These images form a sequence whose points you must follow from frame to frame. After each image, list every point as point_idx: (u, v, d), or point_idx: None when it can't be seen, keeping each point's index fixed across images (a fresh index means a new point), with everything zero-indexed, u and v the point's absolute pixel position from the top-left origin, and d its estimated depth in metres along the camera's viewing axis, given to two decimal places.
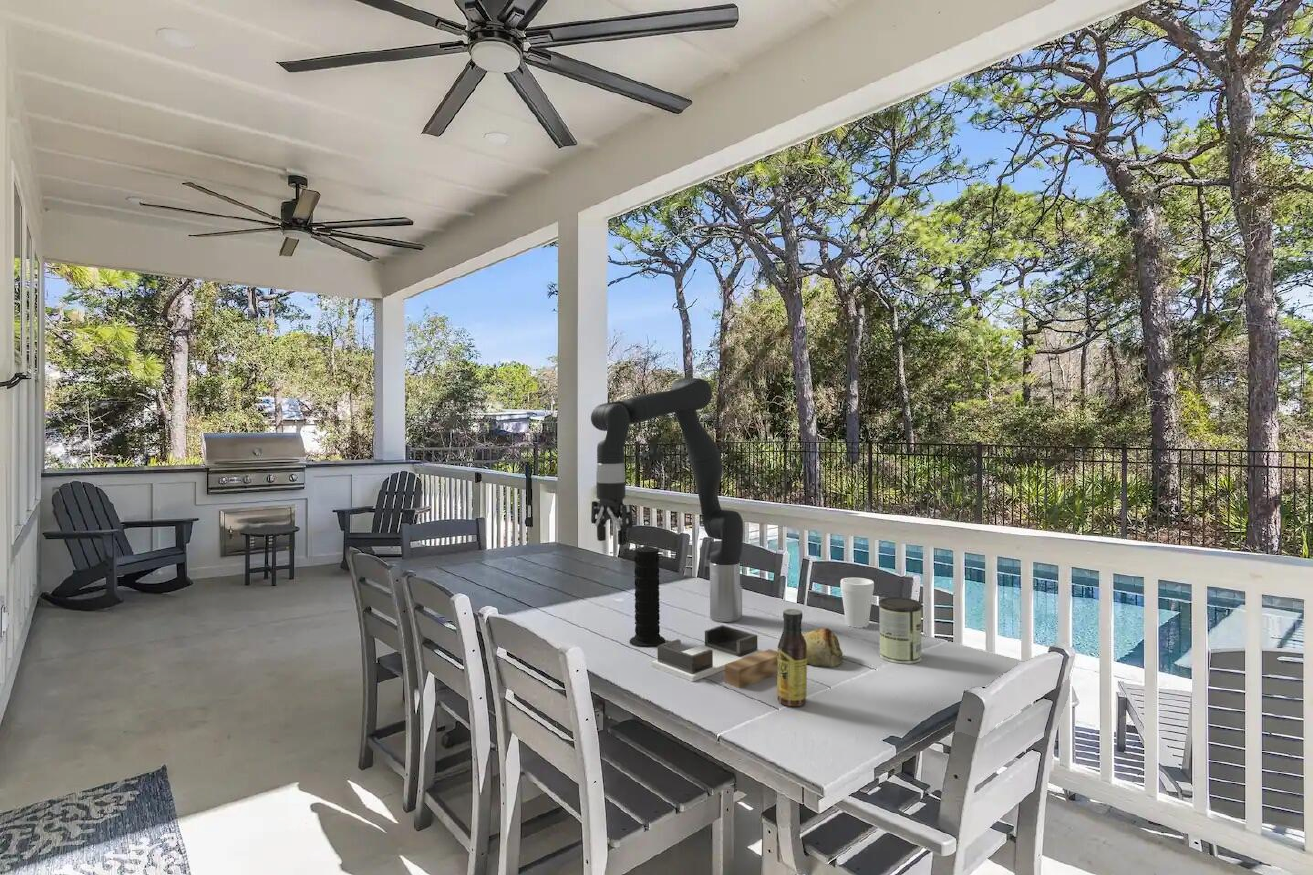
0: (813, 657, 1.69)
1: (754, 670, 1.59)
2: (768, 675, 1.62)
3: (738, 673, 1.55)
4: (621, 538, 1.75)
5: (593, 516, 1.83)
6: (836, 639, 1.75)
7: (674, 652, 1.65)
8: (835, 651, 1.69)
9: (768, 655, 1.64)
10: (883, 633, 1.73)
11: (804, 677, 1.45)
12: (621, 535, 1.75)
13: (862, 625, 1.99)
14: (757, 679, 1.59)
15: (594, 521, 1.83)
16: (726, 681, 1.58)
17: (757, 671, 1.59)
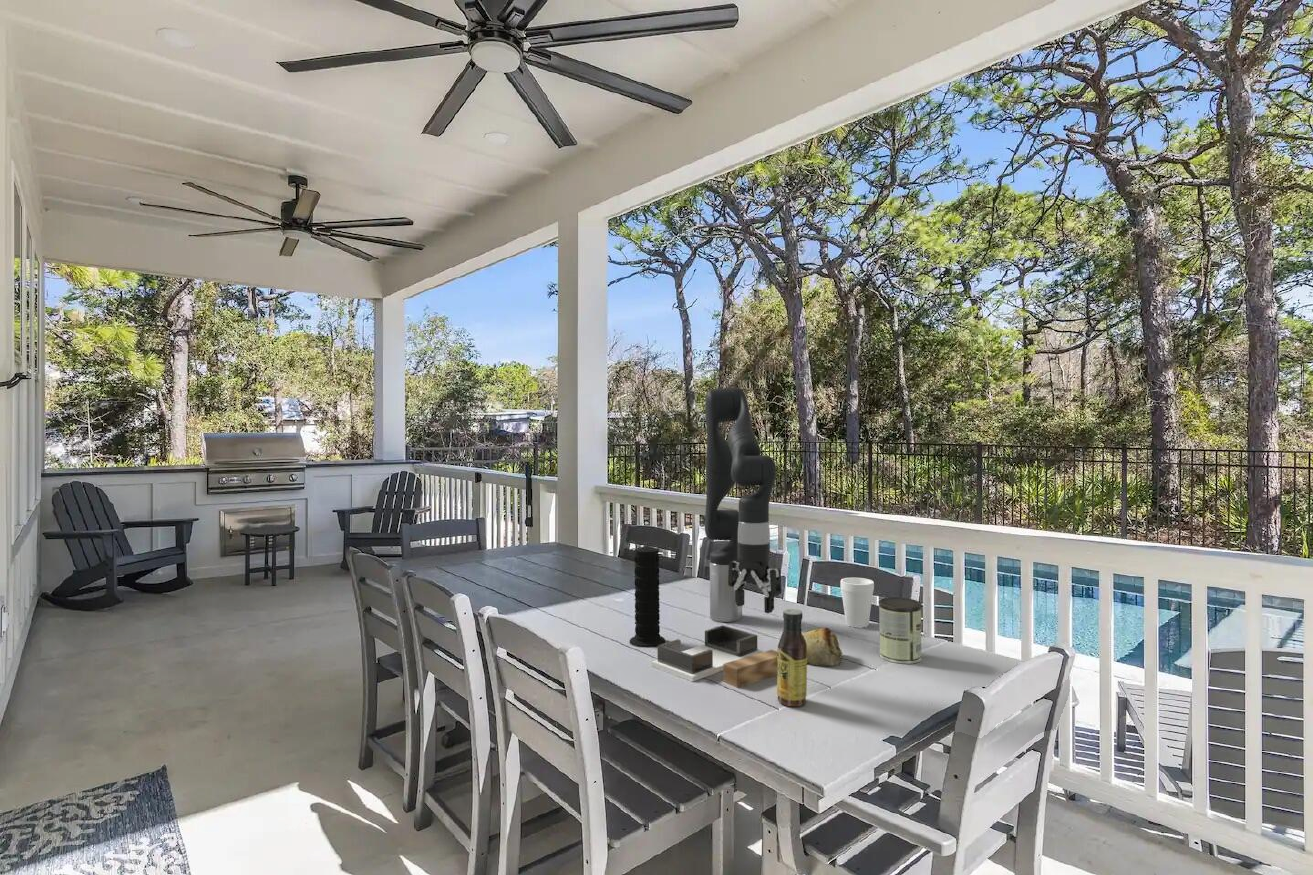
0: (813, 657, 1.69)
1: (753, 669, 1.59)
2: (768, 675, 1.62)
3: (736, 672, 1.56)
4: (768, 606, 1.58)
5: (731, 578, 1.65)
6: (835, 638, 1.75)
7: (674, 652, 1.65)
8: (834, 650, 1.70)
9: (768, 655, 1.64)
10: (883, 633, 1.73)
11: (804, 677, 1.45)
12: (768, 602, 1.58)
13: (862, 625, 1.99)
14: (756, 679, 1.59)
15: (732, 584, 1.65)
16: (725, 680, 1.59)
17: (756, 671, 1.59)
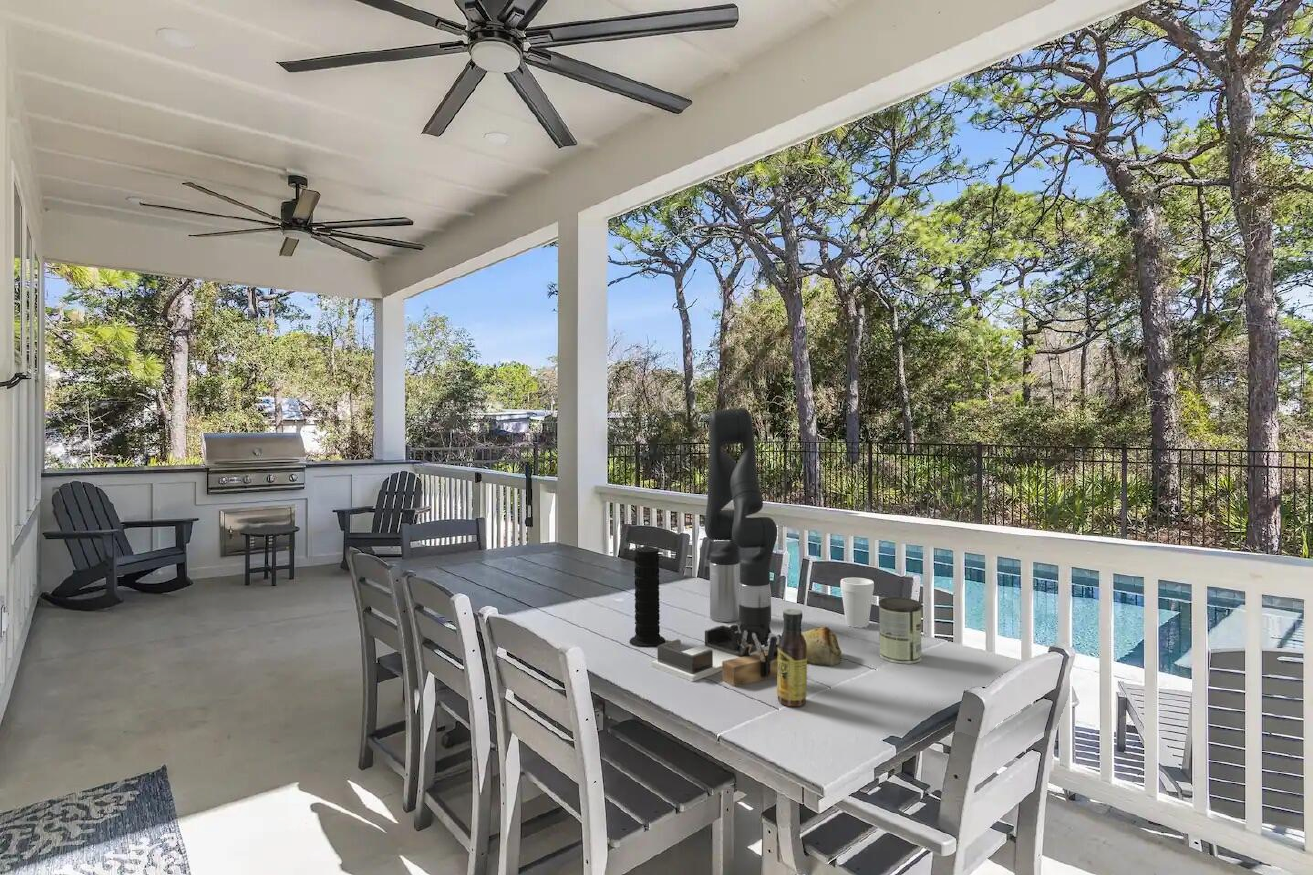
0: (813, 656, 1.70)
1: (752, 668, 1.59)
2: None
3: (733, 670, 1.56)
4: (765, 670, 1.59)
5: (735, 642, 1.65)
6: (835, 638, 1.76)
7: (674, 652, 1.65)
8: (834, 650, 1.70)
9: None
10: (883, 633, 1.73)
11: (804, 677, 1.45)
12: (765, 667, 1.59)
13: (862, 625, 1.99)
14: (755, 678, 1.59)
15: (738, 648, 1.65)
16: (723, 678, 1.60)
17: (755, 670, 1.59)
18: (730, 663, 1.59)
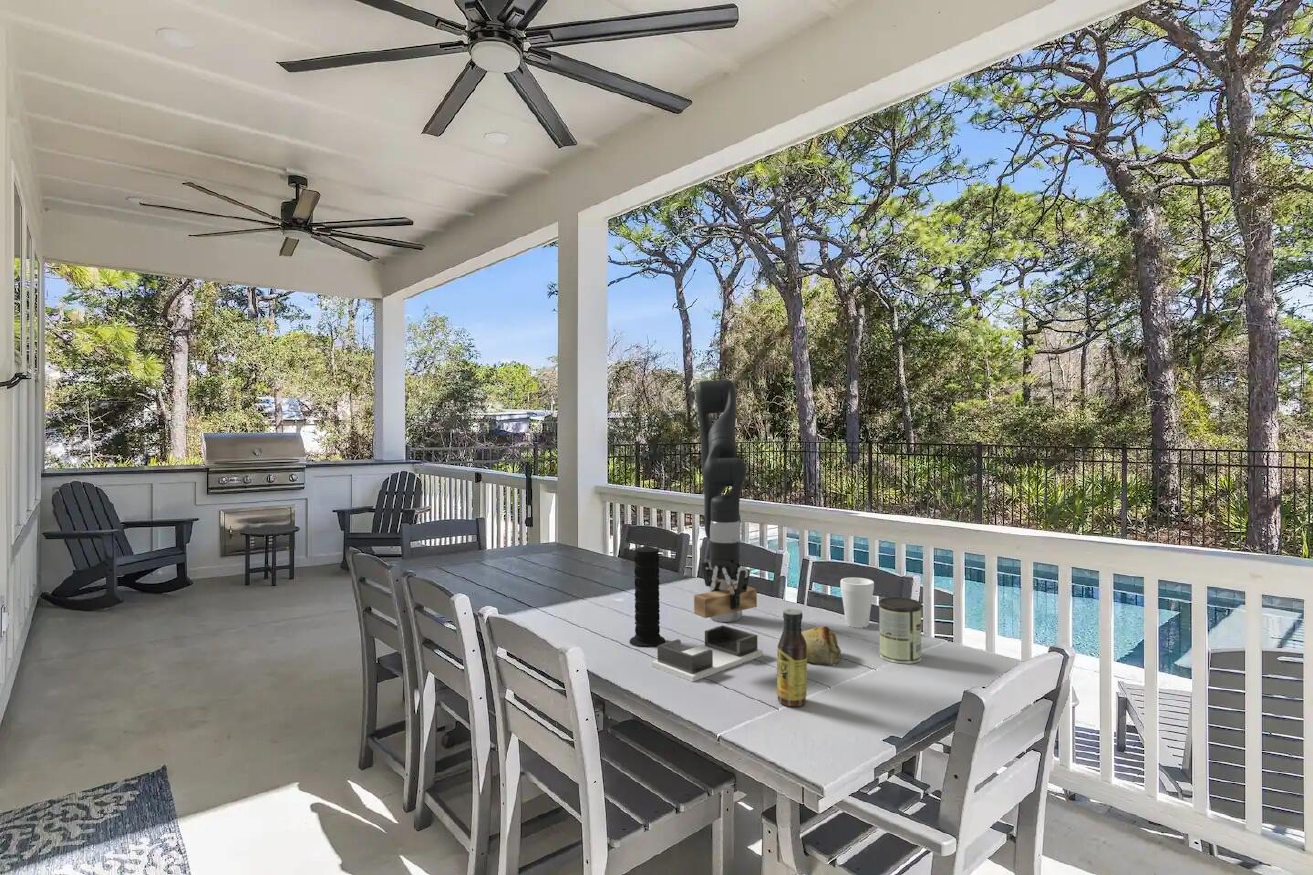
0: (812, 655, 1.70)
1: (722, 601, 1.66)
2: (738, 608, 1.69)
3: (704, 602, 1.64)
4: (734, 603, 1.67)
5: (706, 578, 1.72)
6: (834, 637, 1.76)
7: (674, 652, 1.65)
8: (834, 649, 1.71)
9: None
10: (883, 633, 1.73)
11: (804, 677, 1.45)
12: (734, 600, 1.67)
13: (862, 625, 1.99)
14: (725, 610, 1.67)
15: (709, 583, 1.72)
16: (695, 611, 1.67)
17: (726, 603, 1.67)
18: (701, 596, 1.66)
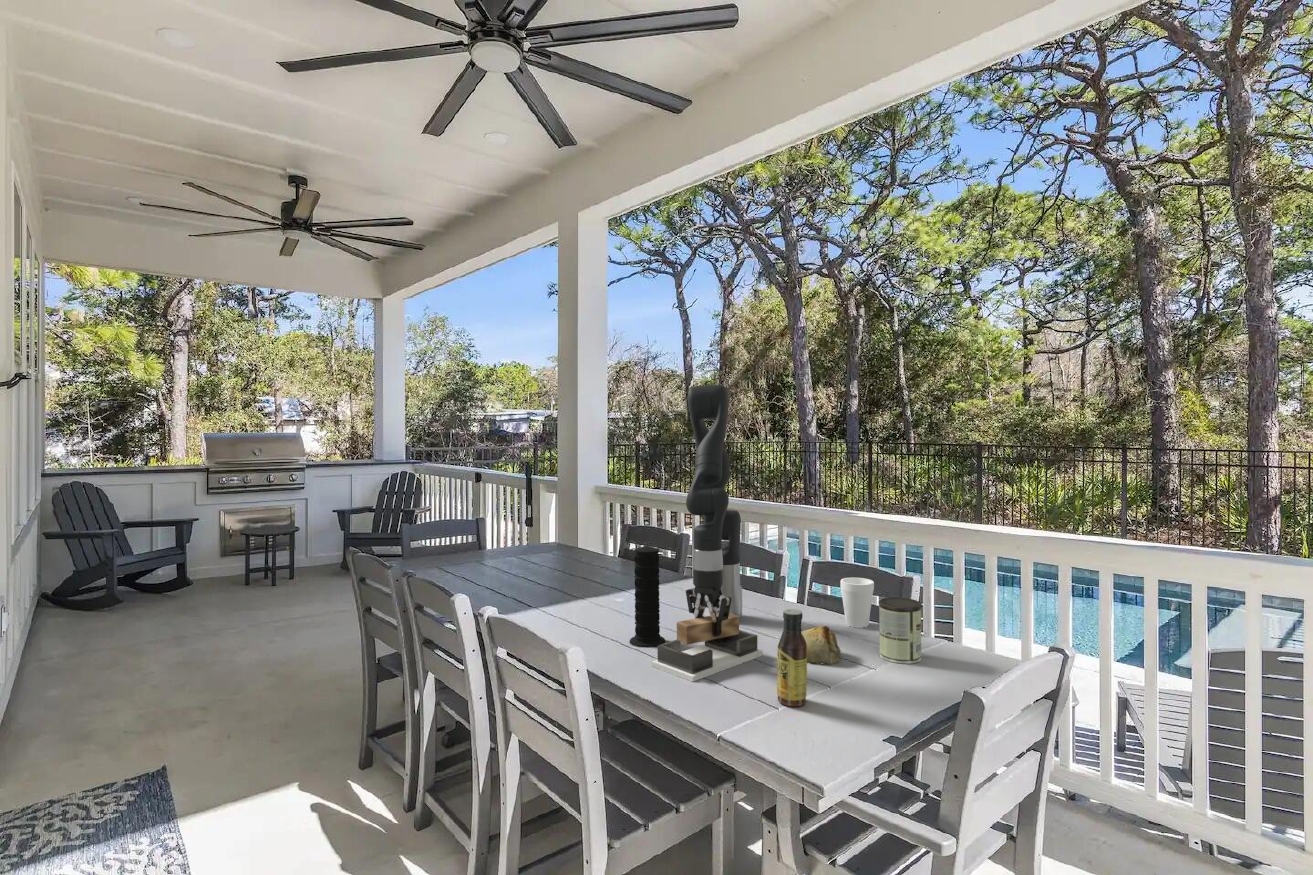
0: (812, 655, 1.70)
1: (704, 628, 1.70)
2: (720, 635, 1.72)
3: (686, 629, 1.67)
4: (716, 630, 1.70)
5: (690, 605, 1.76)
6: (834, 636, 1.77)
7: (674, 652, 1.65)
8: (833, 648, 1.71)
9: None
10: (883, 633, 1.73)
11: (804, 677, 1.45)
12: (716, 627, 1.70)
13: (862, 625, 1.99)
14: (707, 637, 1.70)
15: (692, 610, 1.76)
16: (678, 637, 1.70)
17: (707, 630, 1.70)
18: (684, 623, 1.69)
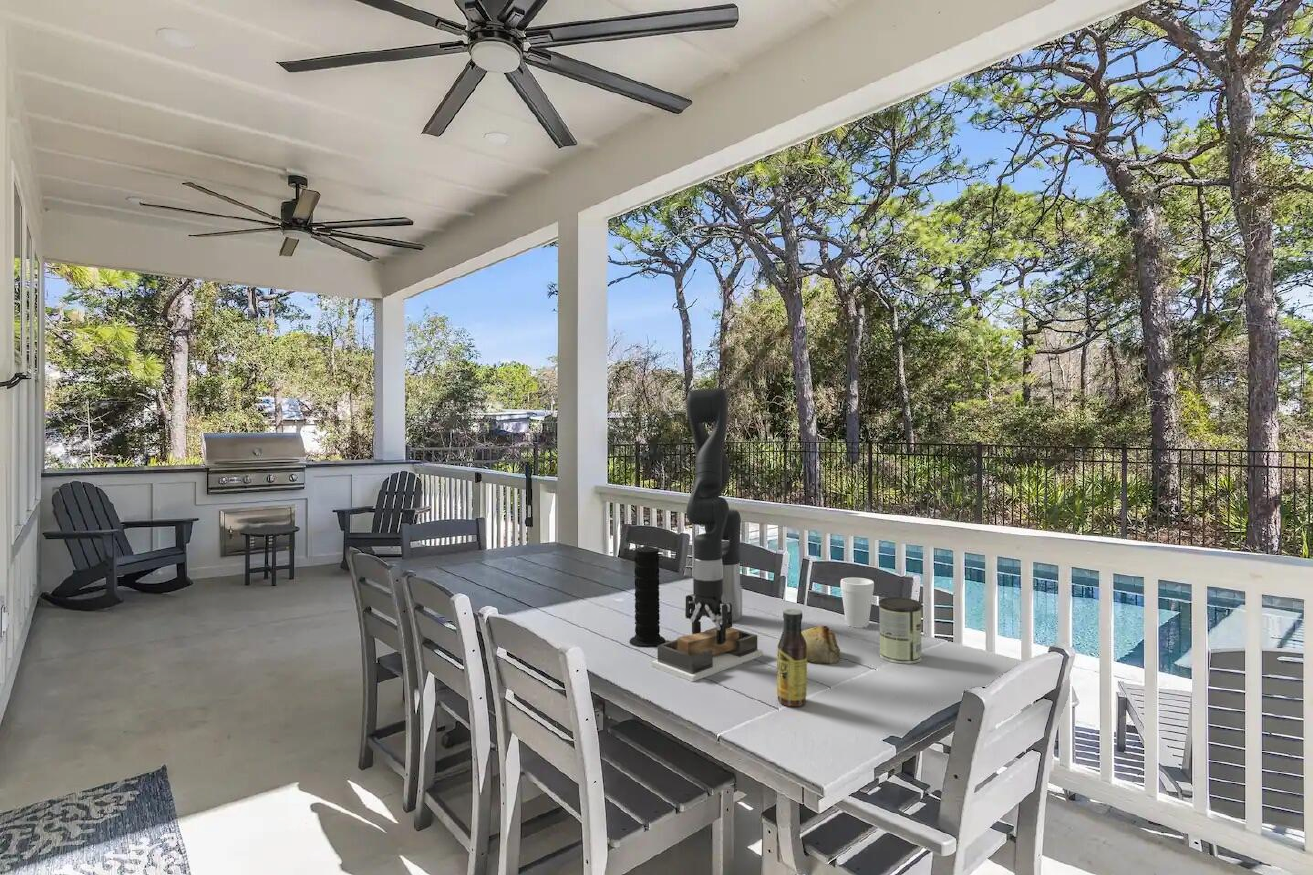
0: (812, 654, 1.71)
1: (705, 643, 1.70)
2: (721, 650, 1.73)
3: (687, 645, 1.67)
4: (720, 638, 1.69)
5: (688, 611, 1.77)
6: (833, 636, 1.77)
7: (674, 652, 1.65)
8: (833, 648, 1.72)
9: None
10: (883, 633, 1.73)
11: (804, 677, 1.45)
12: (720, 635, 1.69)
13: (862, 625, 1.99)
14: None
15: (689, 616, 1.77)
16: None
17: (708, 645, 1.70)
18: (685, 639, 1.69)
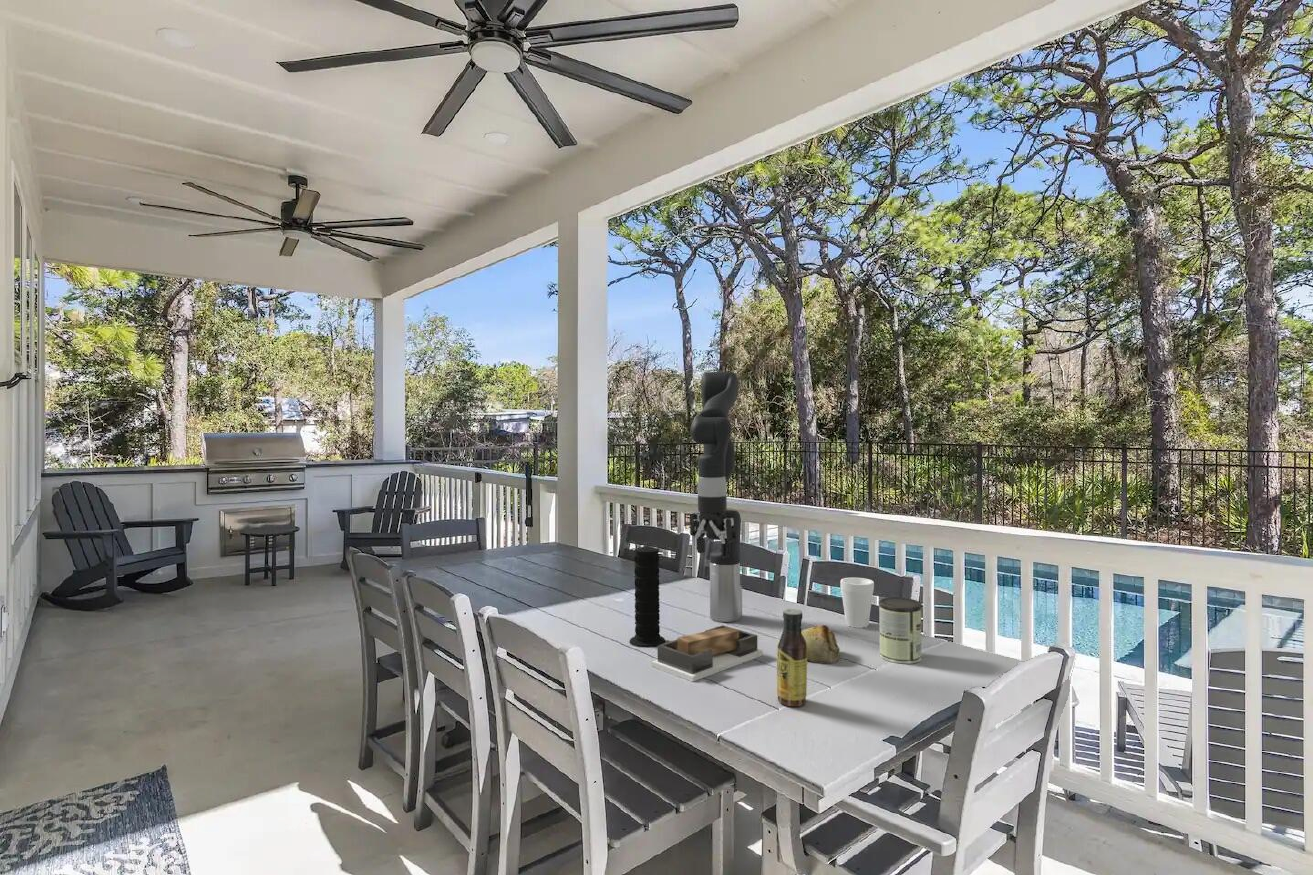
0: (812, 654, 1.71)
1: (705, 643, 1.70)
2: (721, 650, 1.73)
3: (687, 645, 1.67)
4: (725, 551, 1.76)
5: (692, 528, 1.83)
6: (833, 635, 1.77)
7: (674, 652, 1.65)
8: (833, 647, 1.72)
9: (722, 631, 1.75)
10: (883, 633, 1.73)
11: (804, 677, 1.45)
12: (725, 548, 1.76)
13: (862, 625, 1.99)
14: None
15: (693, 533, 1.83)
16: None
17: (708, 645, 1.70)
18: (685, 639, 1.69)
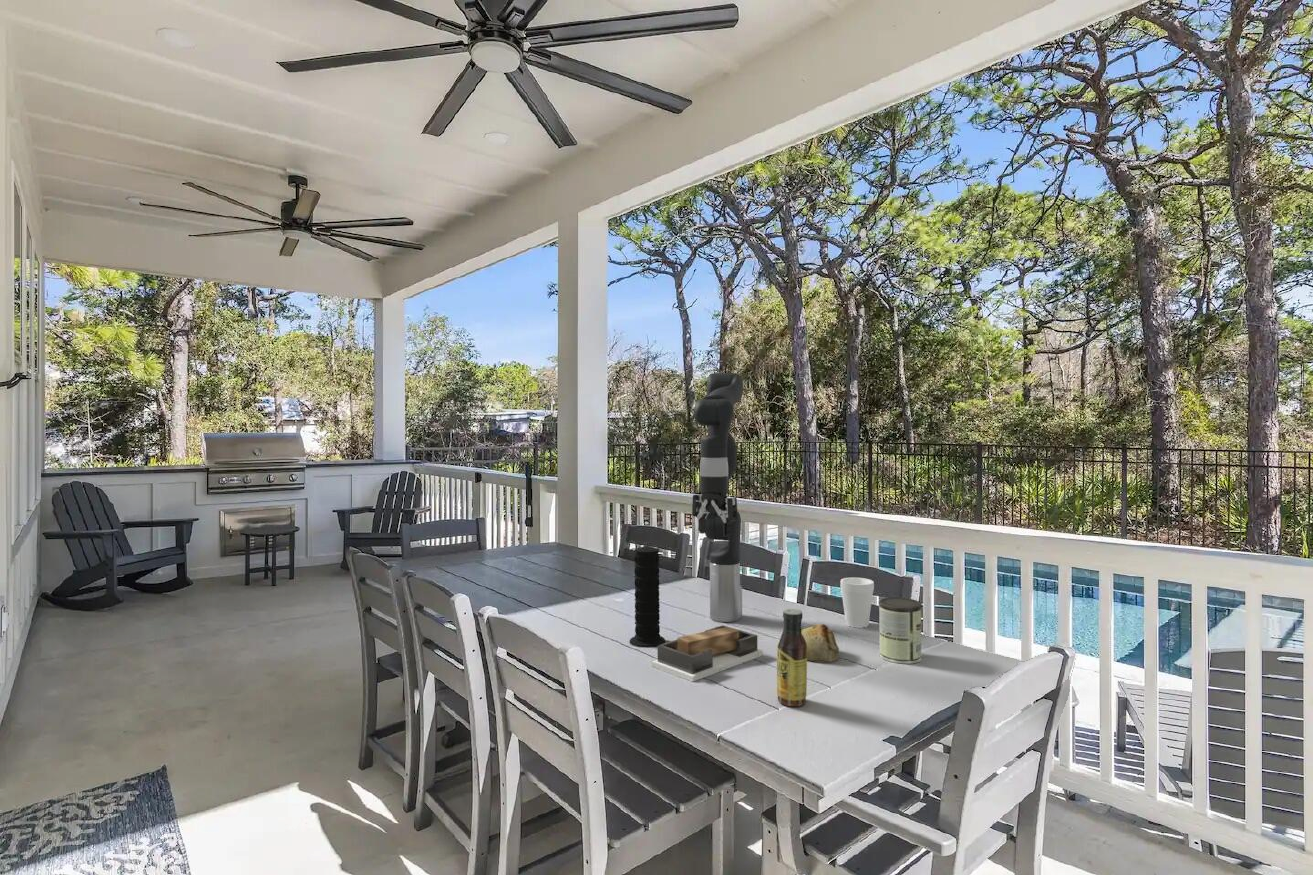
0: (812, 653, 1.72)
1: (705, 643, 1.70)
2: (721, 650, 1.73)
3: (687, 645, 1.67)
4: (726, 530, 1.79)
5: (694, 509, 1.87)
6: (832, 635, 1.78)
7: (674, 652, 1.65)
8: (832, 646, 1.73)
9: (722, 631, 1.75)
10: (883, 633, 1.73)
11: (804, 677, 1.45)
12: (726, 527, 1.79)
13: (862, 625, 1.99)
14: None
15: (695, 514, 1.87)
16: None
17: (708, 645, 1.70)
18: (685, 639, 1.69)
